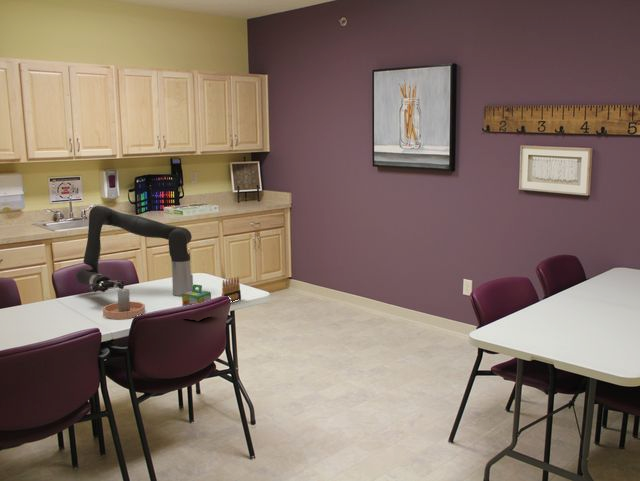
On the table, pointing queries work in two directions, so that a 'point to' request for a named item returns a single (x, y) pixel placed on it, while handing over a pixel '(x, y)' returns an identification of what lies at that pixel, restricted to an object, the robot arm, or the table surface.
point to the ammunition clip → (231, 289)
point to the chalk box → (195, 296)
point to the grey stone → (123, 300)
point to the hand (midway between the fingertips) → (113, 288)
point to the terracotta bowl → (113, 313)
